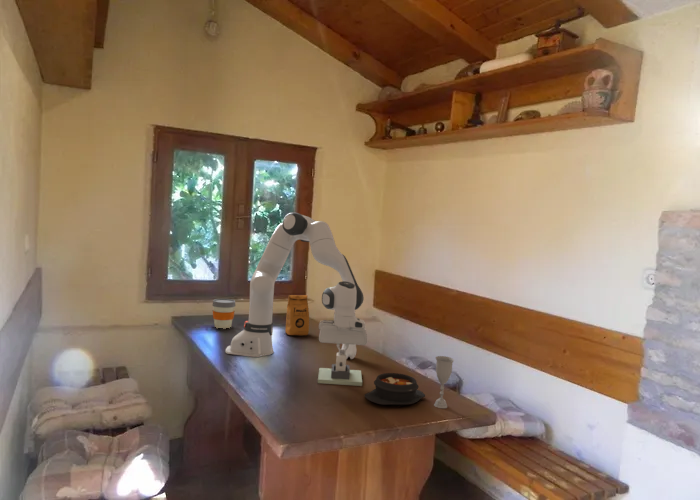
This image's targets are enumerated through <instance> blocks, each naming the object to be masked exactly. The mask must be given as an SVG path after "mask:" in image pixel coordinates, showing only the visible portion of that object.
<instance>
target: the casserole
mask: <svg viewBox="0 0 700 500" xmlns="http://www.w3.org/2000/svg"><path fill="white" fill-rule="evenodd" d="M417 382H418V381H417V380H416V378H415V377H413V376H410V375H407V374H403V373H397V372H396V373H395V372H387V373H380V374H378V375H377V376H376V378H375V380H374V381H373V384H374V386H375V388H374V389H372V390H371V391H370V392H367V393H365V394H364V395H363V396H364V397H365V399H366V400H368V401H370V402H371V403H374V404H377V405H381V406H386V405H387V406H389V405H391V406H392V405H393V406H405V405H413V404H415V403H417V402H419V401H420V400H422V399H423V398H425V397H426V394H425V393H424V392H423V391H421V390H419V384H418V383H417Z"/></svg>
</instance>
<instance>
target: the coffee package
mask: <svg viewBox="0 0 700 500" xmlns="http://www.w3.org/2000/svg"><path fill="white" fill-rule="evenodd" d="M287 300H288V301H287V306H286V316H285V317H286V319H285V329H284V330H285V334H287V335H289V336H308V335H309V333H310V311H309V305H308V304H309V303H308V295H304V294H303V295H295V294H294V295H293V294H291V295H290V294H288V299H287Z"/></svg>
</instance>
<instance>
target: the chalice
mask: <svg viewBox="0 0 700 500" xmlns="http://www.w3.org/2000/svg"><path fill="white" fill-rule="evenodd" d="M435 360H436V364H435V372H436V377H437V380H438V381H439V382H438V383H440V384H441V385H440V387H439V388H440V392H439V398H436V400H435V402H434V404H433V406H434V407H435V408H437V409H447V408H448V404H447V401H446V400H445V399H444V397H443V396H444V394H445V392H444V390H445V386H444V385H445V384H447V383H448V381H449V380H450V378H451V375H452V372H453V363H454V361H455V359H454V358H452V357H450V356H445V355H444V356H443V355H438V356H435Z"/></svg>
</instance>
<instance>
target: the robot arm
mask: <svg viewBox="0 0 700 500" xmlns="http://www.w3.org/2000/svg"><path fill="white" fill-rule="evenodd" d="M298 240H300V242H305V243H309V245H310V252H311V254H312V257H313V258H314V259H313V260H315V261H316V262H317V263H318V264H319V263H320V264H321V265H324V266H327V267H329V268H331V269H334V270H335V271H336V272H337V273H338V274H339V275H340V278H341V280H342V281H339V282H337V284H336V285H334V286H330V287H326V288H325V289H324V290H323V292H322V294H321V304H322V305H323V307H325V309H327V310H334V314H333V320H331V319H329V320H327V319H323V320H320V322H318V330H319V335H318V341H319V342H320V343H325V344H336V348H337V349H338V352H339V354H346V350H347V349H348V347H349V344H353V345H356V346H366V345H367V344H368V331H367V329H366V322H365V320H364V319H361V318H359V317H357V316H356V317H355V315H356V310H358V309H359V308H360V307H361V306H362V305H363V303H364V301H365V300H364V292H363V291H362V289H361V288H360V286H359V284H358V282H357V280H356V277H355V274H354V273H353V270H352V268H351V265H350V264H349V261H348V259H347V257H346V255H344V254H343V253H341V251H340V250H339V248H338V247H337V244H336V243H335V242H336V241H335V239H334V235H333V232H332V230H331V228H330V226H329V224H328V223H327V222H325V221H324V220H318V221H317V220H314V219H313V218H312V217H309V216H308V215H307V216H306V215H304V214H301V213H299V212H292V211H291V212H289V213H286V215H285V216H284V217H283V220H282V222H281V223H279V225H278V226H277V227H276V228H275V230H274V231H273V233H272V234H271V236H270V239H269V240H268V243H267V244H266V247H265V249H264V252H263V253H262V256H261V257H260V260H259V261H258V263H257V266H256V269H255V270H254V272H253V274H252V277H251V279H250V282H249V307H248V308H249V309H248V320H245V321H244V323H243V330H241V331H240V332H238V333H237V334H236V335H235V336H233V337H232V339H231V342H230V345H228V346H226V347H225V353H226V354H228V355H235V356H244V357H252V358H259V357H263V356H264V357H265V356H270V355H271V354H274V348H273V347H274V346H273V339H272V338H273V337H272V336H273V331H274V326H273V325H274V324H273V310H274V296H275V295H274V293H275V284H276V281H277V279H278V277H279V275H280V273H281V271H282V269H283V267H284V265H285V264H286V261H287V259H288V256H289V255H290V253H291V251H292V248H293V247H294V244H295V243H296V242H297V241H298ZM343 344H345V346H346V347H345V349H342V348H341V345H343Z"/></svg>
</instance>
